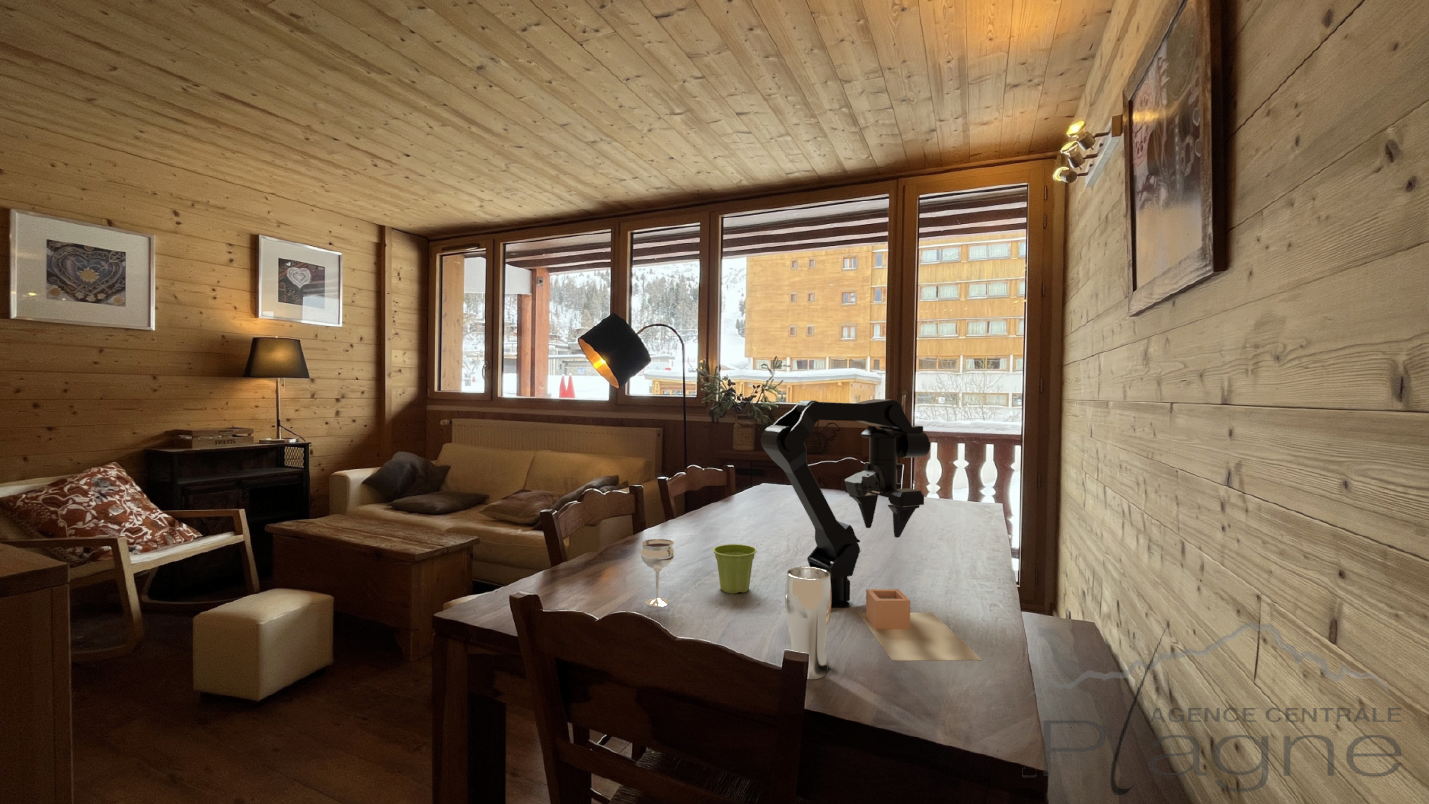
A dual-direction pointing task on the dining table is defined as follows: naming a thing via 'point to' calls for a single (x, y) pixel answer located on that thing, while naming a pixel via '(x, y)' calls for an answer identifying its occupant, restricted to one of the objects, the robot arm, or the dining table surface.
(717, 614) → the dining table surface
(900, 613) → the collar
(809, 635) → the beer glass
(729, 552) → the plant pot
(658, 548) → the wineglass
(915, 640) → the post board
